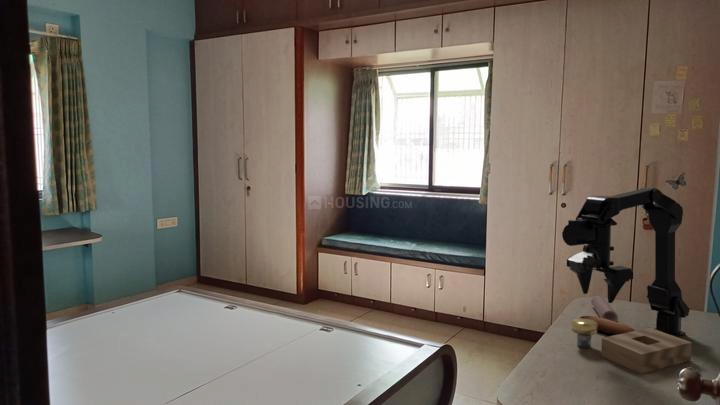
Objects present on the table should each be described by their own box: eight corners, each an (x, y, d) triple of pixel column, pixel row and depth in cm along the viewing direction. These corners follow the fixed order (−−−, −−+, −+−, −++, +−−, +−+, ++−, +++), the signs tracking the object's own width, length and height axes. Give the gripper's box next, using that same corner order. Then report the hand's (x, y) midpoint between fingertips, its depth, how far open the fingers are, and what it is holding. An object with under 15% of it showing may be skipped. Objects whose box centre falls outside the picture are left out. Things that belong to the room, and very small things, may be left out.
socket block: (649, 344, 143) (649, 327, 142) (690, 360, 132) (691, 342, 131) (601, 355, 136) (601, 338, 136) (640, 373, 125) (641, 354, 125)
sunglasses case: (649, 336, 149) (644, 319, 146) (639, 353, 146) (633, 336, 143) (591, 320, 164) (585, 305, 161) (580, 335, 160) (574, 320, 158)
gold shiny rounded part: (583, 340, 147) (584, 317, 147) (602, 348, 141) (602, 324, 141) (566, 344, 145) (566, 320, 144) (584, 352, 139) (584, 327, 138)
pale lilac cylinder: (619, 312, 159) (605, 295, 176) (603, 309, 160) (591, 293, 177) (617, 326, 159) (604, 308, 177) (601, 324, 160) (589, 306, 178)
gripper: (551, 239, 144) (550, 292, 146) (600, 251, 127) (599, 311, 128) (583, 236, 148) (582, 288, 149) (635, 247, 130) (634, 306, 132)
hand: (597, 298), depth 140 cm, fingers open, 9 cm apart
